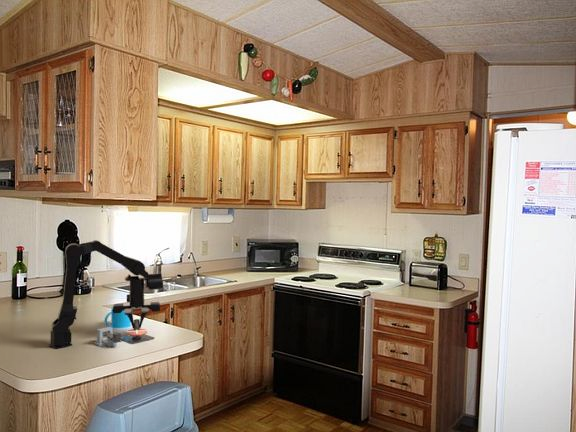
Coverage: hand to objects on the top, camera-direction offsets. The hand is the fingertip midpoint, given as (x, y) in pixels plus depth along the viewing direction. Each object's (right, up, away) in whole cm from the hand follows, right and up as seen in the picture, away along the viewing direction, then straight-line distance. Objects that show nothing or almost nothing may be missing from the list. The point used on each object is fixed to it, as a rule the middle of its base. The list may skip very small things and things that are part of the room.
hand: (136, 328), depth 202 cm
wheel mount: (+1, -4, -3) cm, 5 cm away
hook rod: (-8, -2, -11) cm, 13 cm away
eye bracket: (-8, -4, -10) cm, 14 cm away
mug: (-14, -4, +16) cm, 22 cm away
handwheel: (+1, -2, -3) cm, 4 cm away
